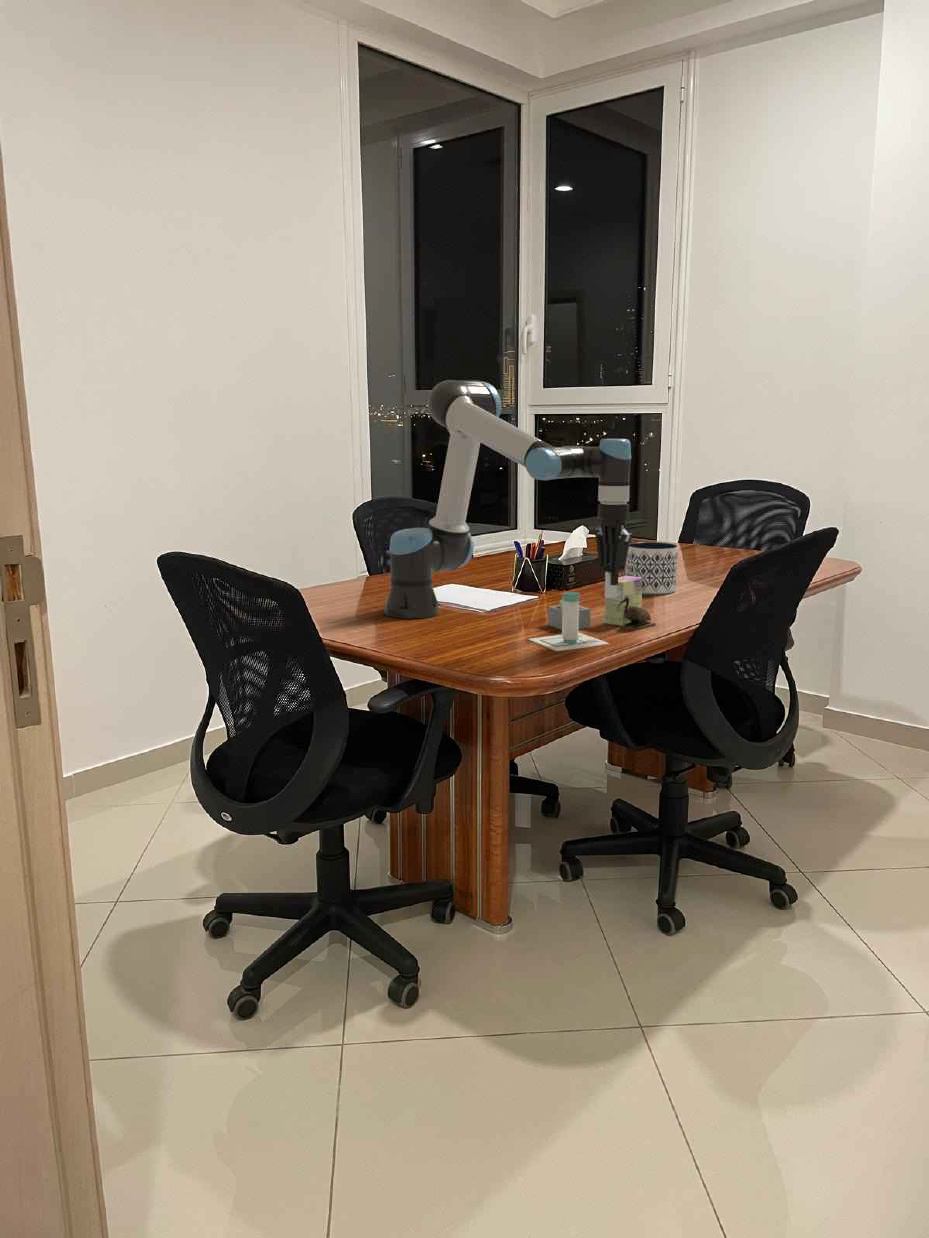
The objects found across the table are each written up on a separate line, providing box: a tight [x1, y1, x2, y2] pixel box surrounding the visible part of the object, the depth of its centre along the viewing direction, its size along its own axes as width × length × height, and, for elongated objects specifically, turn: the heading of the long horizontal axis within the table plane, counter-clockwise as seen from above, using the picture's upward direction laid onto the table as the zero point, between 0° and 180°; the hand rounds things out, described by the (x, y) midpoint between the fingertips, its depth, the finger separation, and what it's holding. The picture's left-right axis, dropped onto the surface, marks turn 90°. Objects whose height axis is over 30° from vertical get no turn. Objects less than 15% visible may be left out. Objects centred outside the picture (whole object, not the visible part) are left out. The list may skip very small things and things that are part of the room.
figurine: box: [617, 598, 657, 632], centre depth 249 cm, size 14×4×9 cm, turn 134°
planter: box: [625, 541, 679, 595], centre depth 301 cm, size 16×16×14 cm
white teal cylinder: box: [561, 591, 581, 644], centre depth 231 cm, size 4×4×12 cm
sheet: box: [528, 632, 610, 652], centre depth 234 cm, size 15×13×1 cm
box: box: [603, 575, 643, 627], centre depth 256 cm, size 10×6×12 cm, turn 141°
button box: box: [547, 604, 592, 631], centre depth 251 cm, size 8×8×5 cm
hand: (610, 597), depth 239 cm, fingers closed
